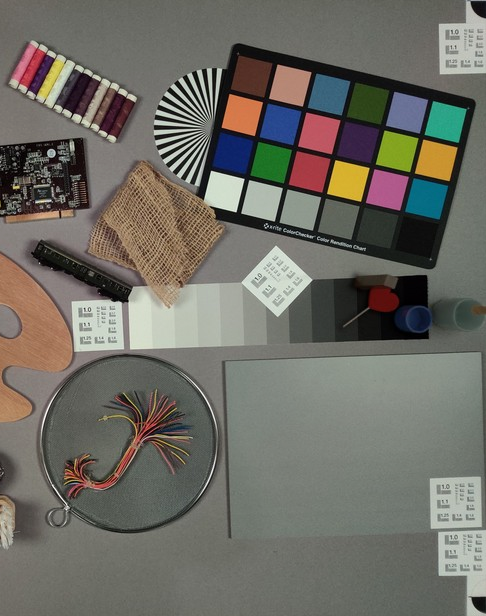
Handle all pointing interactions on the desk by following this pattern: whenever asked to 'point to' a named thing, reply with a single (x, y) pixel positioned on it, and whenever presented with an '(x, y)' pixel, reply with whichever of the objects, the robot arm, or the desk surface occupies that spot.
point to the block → (375, 282)
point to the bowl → (413, 318)
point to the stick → (478, 310)
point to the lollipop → (380, 301)
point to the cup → (457, 314)
